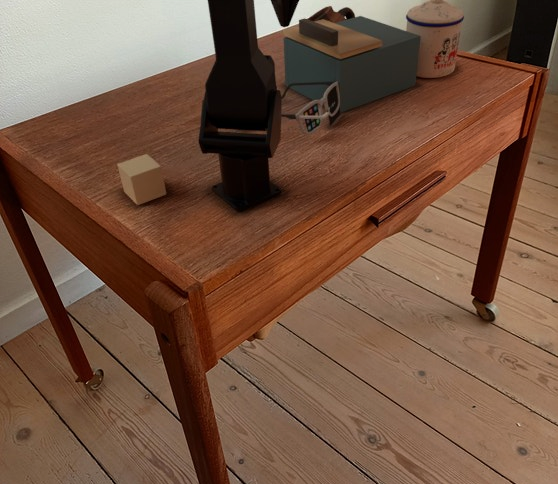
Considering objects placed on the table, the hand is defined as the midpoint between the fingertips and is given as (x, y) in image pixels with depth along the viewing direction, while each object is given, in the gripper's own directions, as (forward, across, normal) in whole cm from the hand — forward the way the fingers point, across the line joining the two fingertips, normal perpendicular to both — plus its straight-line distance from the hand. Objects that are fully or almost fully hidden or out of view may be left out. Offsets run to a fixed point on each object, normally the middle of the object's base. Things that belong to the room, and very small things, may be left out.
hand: (284, 26), depth 83 cm
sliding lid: (+4, -9, 0) cm, 9 cm away
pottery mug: (+12, -22, -16) cm, 29 cm away
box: (+12, -12, 0) cm, 17 cm away
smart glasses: (+10, +2, +6) cm, 12 cm away
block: (+12, +28, +9) cm, 32 cm away
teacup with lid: (+12, -28, +3) cm, 31 cm away
